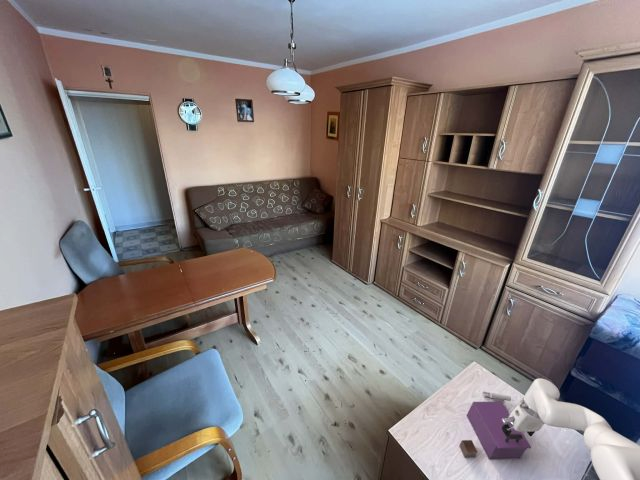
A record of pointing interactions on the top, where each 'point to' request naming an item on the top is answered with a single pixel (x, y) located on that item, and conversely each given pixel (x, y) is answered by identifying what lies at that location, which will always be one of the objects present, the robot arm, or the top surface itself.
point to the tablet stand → (497, 397)
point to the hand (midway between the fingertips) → (516, 432)
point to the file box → (490, 439)
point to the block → (468, 448)
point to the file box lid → (500, 425)
